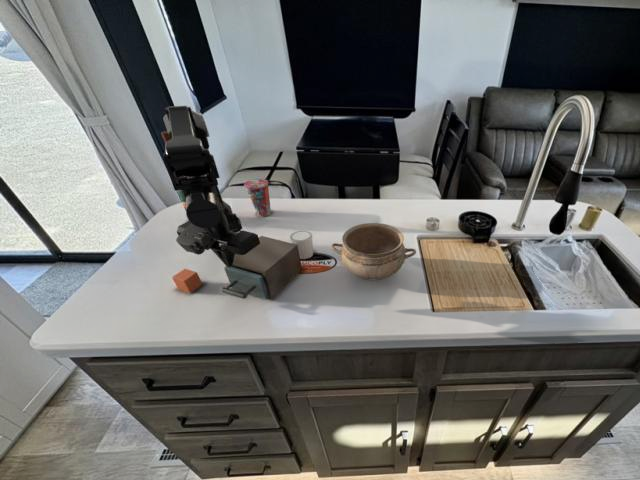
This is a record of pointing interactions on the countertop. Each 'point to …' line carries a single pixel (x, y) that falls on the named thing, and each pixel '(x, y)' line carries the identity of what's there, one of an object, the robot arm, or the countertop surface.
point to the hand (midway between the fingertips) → (229, 266)
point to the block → (187, 280)
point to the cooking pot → (373, 250)
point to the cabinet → (272, 263)
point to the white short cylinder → (303, 243)
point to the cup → (259, 195)
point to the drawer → (245, 283)
